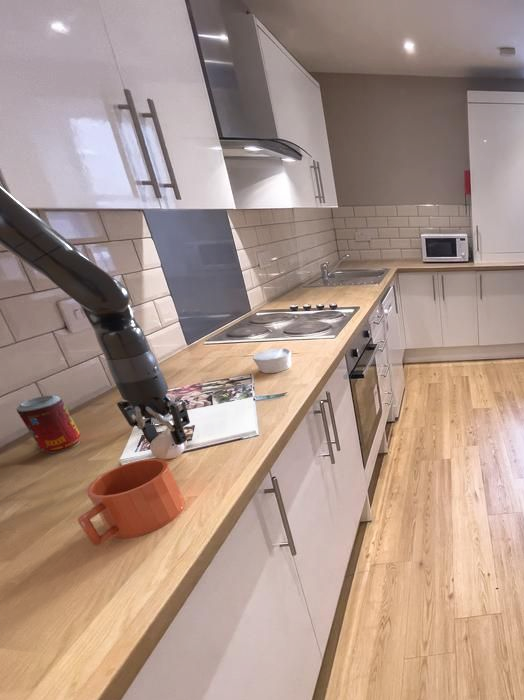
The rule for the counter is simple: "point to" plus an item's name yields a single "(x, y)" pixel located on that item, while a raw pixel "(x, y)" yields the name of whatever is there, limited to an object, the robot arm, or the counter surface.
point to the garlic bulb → (166, 446)
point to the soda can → (49, 423)
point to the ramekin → (273, 360)
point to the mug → (133, 500)
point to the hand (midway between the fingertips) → (168, 441)
